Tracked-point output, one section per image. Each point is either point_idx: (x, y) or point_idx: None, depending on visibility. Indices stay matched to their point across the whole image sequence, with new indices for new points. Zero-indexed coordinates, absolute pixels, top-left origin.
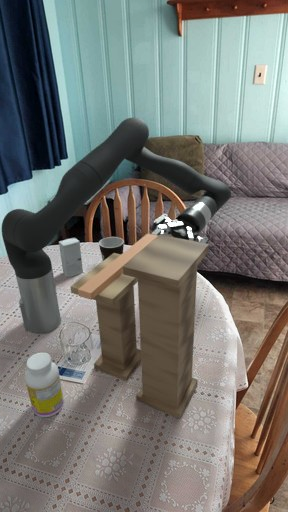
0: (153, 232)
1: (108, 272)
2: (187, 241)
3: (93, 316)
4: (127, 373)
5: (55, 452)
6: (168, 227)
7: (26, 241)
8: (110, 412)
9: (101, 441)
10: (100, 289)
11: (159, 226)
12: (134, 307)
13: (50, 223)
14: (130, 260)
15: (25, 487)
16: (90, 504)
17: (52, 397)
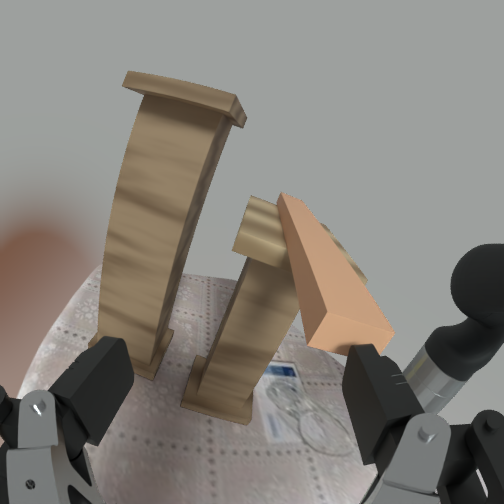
0: (393, 369)
1: (296, 206)
2: (169, 78)
3: (331, 480)
4: (197, 360)
5: (229, 301)
6: (374, 491)
7: (456, 265)
8: (198, 327)
9: (195, 304)
10: (279, 202)
11: (431, 419)
12: (229, 314)
13: (488, 266)
14: (245, 115)
15: (234, 286)
16: (185, 274)
17: None
